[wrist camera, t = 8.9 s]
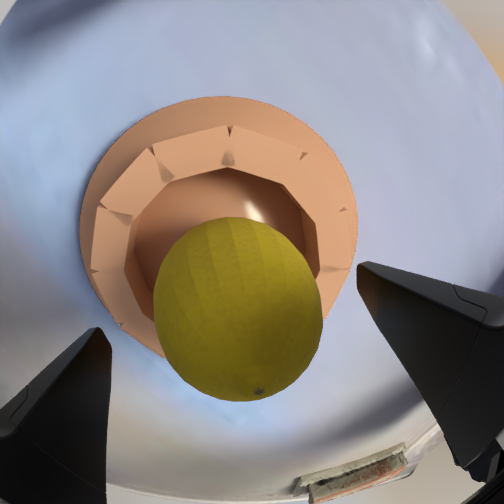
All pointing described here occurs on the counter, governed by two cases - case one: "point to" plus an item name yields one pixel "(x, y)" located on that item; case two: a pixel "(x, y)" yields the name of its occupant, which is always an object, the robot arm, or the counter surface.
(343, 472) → the packaged product
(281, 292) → the lemon
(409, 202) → the counter surface
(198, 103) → the holder
